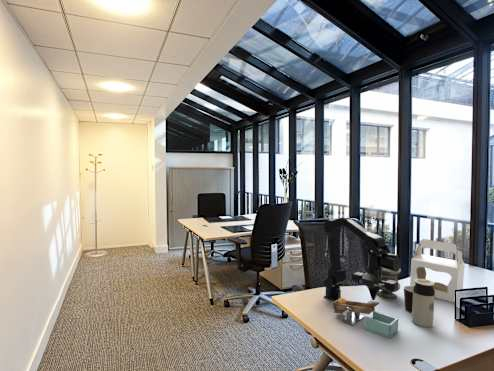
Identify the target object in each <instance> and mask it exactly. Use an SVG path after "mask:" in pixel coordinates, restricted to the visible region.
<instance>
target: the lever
mask: <svg viewBox="0 0 494 371" xmlns="http://www.w3.org/2000/svg"><path fill="white" fill-rule="evenodd" d="M345 300H346V299H345ZM378 305H380V302H379V301H375V300H369V301H368V302H362V301H361V302H360V301H353V300H346V305H345V304H339V303H338V300H336V301H332V308H333V310H334V311H333V312H334V313H333V314H339V315H342V314H343V313H344V312H346V311H347V307H350V308H352V313H355V312H357V313H360V314H364V315H370V314H372V313H373V311H375V310H376V309H375V307H377V306H378Z"/></svg>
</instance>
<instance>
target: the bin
mask: <svg viewBox="0 0 494 371" xmlns="http://www.w3.org/2000/svg"><path fill="white" fill-rule="evenodd" d="M364 330H366V331H369V332H372V333H375V334H377V335H379V336H382V337H385V338H388V339H391V338H392V337H393V336H394V335H396V333H397V332H398V330H399V318H397V317H394V316H391V315H388V314H386V313H382V312H379V311H375V310H374V311H373V312H372V317H368V316H364Z"/></svg>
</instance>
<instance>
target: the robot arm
mask: <svg viewBox="0 0 494 371" xmlns="http://www.w3.org/2000/svg"><path fill="white" fill-rule="evenodd" d="M343 227H345V229H347V230H349V231H350V232H351V233H353V235H354V236H356V237H358V238H359V239H360V240H361V241H362V243H363V244H364V246H366V248H367V249H366V250H364V252H363V253H364V254H367V255H368V258H367V262H368V264H367V267H366V271H365V273H364V272H359V271H356V272H355V273H352V275H351V281H354V282H359V281H360V280H361V281H362V285H364V286H366V288H367V289H368V291H369V294H370V298H371V301H375V300H376V298H377V296H378V295H377V294H378V292H379V291H381V290H380V289H381V288H383V287H385V289H386V290H390V291H395V290H396V289H398V283H399V281H398V282H396V281H393V280H388V281H382V280H381V279H382V270H383V268H385V269H388V270H392V271H395V272H397V271H399V269H401V266H402V262H401V259H400V258H399V255H398V254H393V253H391V250H390V248H389V247H388V245H387V243H386V239H385V238H384V237H382V236H381V235H379V234H376V233H372V232H370V231H368V230H367V229H366V228H364V227H362V225H360V224H359V223H357V222H356V221H354V220H353V219H352V218H351V217H349V216H343V217H339V218H333V219H332V218H331V219H326V220H324V222H323V229H324V233H325V234H326V236H327V237H328V252H329V269H328V272H327V278H326V279H324V280H323V281H322V283H323V287H325V295H324V296H323V298H325V299H327V300H330V301H332V302H334V301H336V300H338V299H339V298H342V296H341V295H342V290H341V287H342V286H343V284H344V282H346V279H347V274H346V269H344V268H343V267H342V265H341V253H340V238H339V237H340V235H341V232H342V228H343Z"/></svg>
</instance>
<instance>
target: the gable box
mask: <svg viewBox="0 0 494 371" xmlns="http://www.w3.org/2000/svg"><path fill="white" fill-rule="evenodd" d="M422 249H431V250H436V251H441V252H447V253H452V254H454V255H455V257H454V258H455V259H450V258H445V257H444V258H443V257H439V256H435V255H434V256H433V255H429V254H424V253H423V250H422ZM410 262H411V263H410V280H409V286H415V281H414V280H415V279H426V278H427V277H426V276H427V271H426V269H427V270H431V271H434V272H438V273H445V274H448V275H450V277H451V279H450V280H449V282H448V284H444V283H441V282H437V281H436V282H434V281H433V282H434V286H433V288H434V290H435V297H434V298H437V299H440V300H443V301H447V302H451V303H455V302H454V291H455V290H458V289H463V290H464V279H465V278H464V276H465V262H464V259H463V251H462V250H458V246H457V244H455V243H451V242H445V241H440V240H439V241H437V240H431V239H424V238H423V239H421V242H420V243H416V245H415V251H414V254H413V255H412V257H411V261H410ZM426 280H427V279H426Z"/></svg>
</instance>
